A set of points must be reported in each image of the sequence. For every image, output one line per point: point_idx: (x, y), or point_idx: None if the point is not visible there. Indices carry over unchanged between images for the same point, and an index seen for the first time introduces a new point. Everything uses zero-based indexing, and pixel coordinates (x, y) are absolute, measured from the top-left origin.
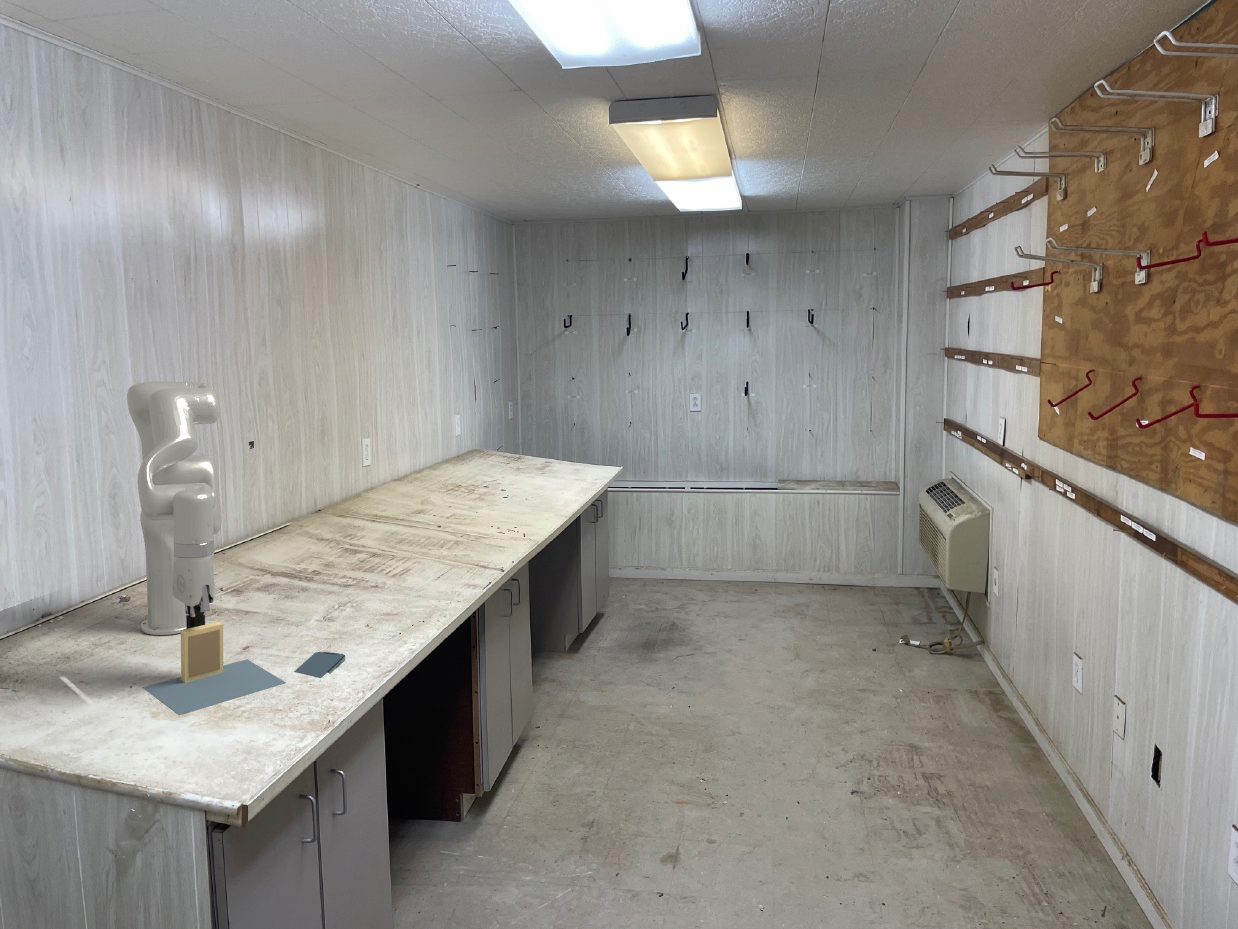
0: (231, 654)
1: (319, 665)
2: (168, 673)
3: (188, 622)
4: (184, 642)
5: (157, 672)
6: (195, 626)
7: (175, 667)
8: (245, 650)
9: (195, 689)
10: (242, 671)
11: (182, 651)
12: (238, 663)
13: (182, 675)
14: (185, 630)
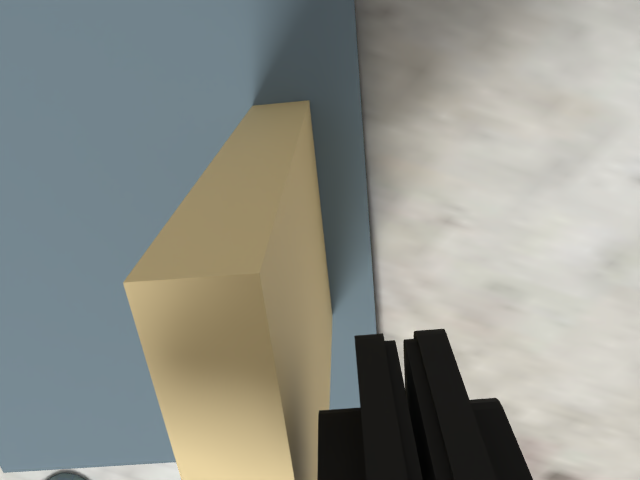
0: (537, 419)
1: None
2: (527, 83)
3: (429, 441)
4: (171, 218)
5: (597, 29)
6: (321, 452)
7: (588, 148)
8: (536, 474)
9: (115, 123)
10: None
11: (256, 169)
12: (355, 406)
13: (286, 110)
14: (222, 323)
